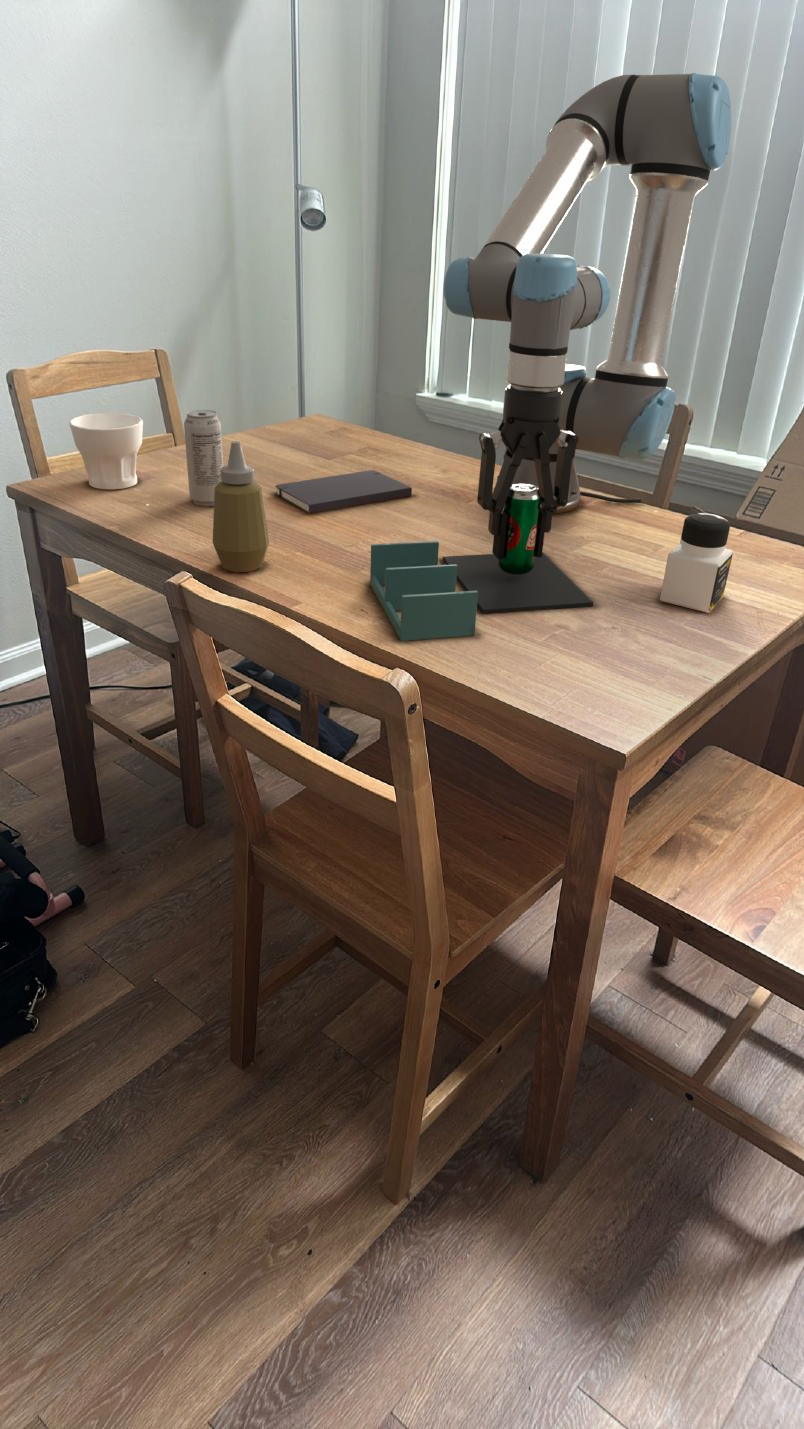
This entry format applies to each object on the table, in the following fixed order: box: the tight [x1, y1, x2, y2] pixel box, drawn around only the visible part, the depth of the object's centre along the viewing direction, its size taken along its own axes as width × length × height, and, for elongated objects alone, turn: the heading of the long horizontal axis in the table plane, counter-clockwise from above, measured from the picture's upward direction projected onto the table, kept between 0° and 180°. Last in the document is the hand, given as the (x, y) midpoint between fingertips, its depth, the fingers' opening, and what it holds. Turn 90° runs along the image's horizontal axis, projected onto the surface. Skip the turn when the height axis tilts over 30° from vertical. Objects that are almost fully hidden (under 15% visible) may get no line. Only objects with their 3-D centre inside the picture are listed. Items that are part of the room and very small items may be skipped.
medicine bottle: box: [659, 512, 734, 614], centre depth 131 cm, size 7×7×12 cm
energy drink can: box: [183, 409, 224, 507], centre depth 160 cm, size 6×6×15 cm
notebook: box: [274, 469, 413, 514], centre depth 170 cm, size 13×2×21 cm
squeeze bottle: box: [212, 440, 270, 573], centre depth 134 cm, size 8×8×18 cm
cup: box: [68, 412, 144, 491], centre depth 169 cm, size 12×12×11 cm
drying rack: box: [369, 540, 478, 642], centre depth 126 cm, size 10×19×6 cm, turn 14°
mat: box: [442, 552, 594, 614], centre depth 137 cm, size 16×20×1 cm
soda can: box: [498, 483, 541, 575], centre depth 133 cm, size 5×5×12 cm
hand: (517, 554), depth 135 cm, fingers closed on soda can, 5 cm apart
